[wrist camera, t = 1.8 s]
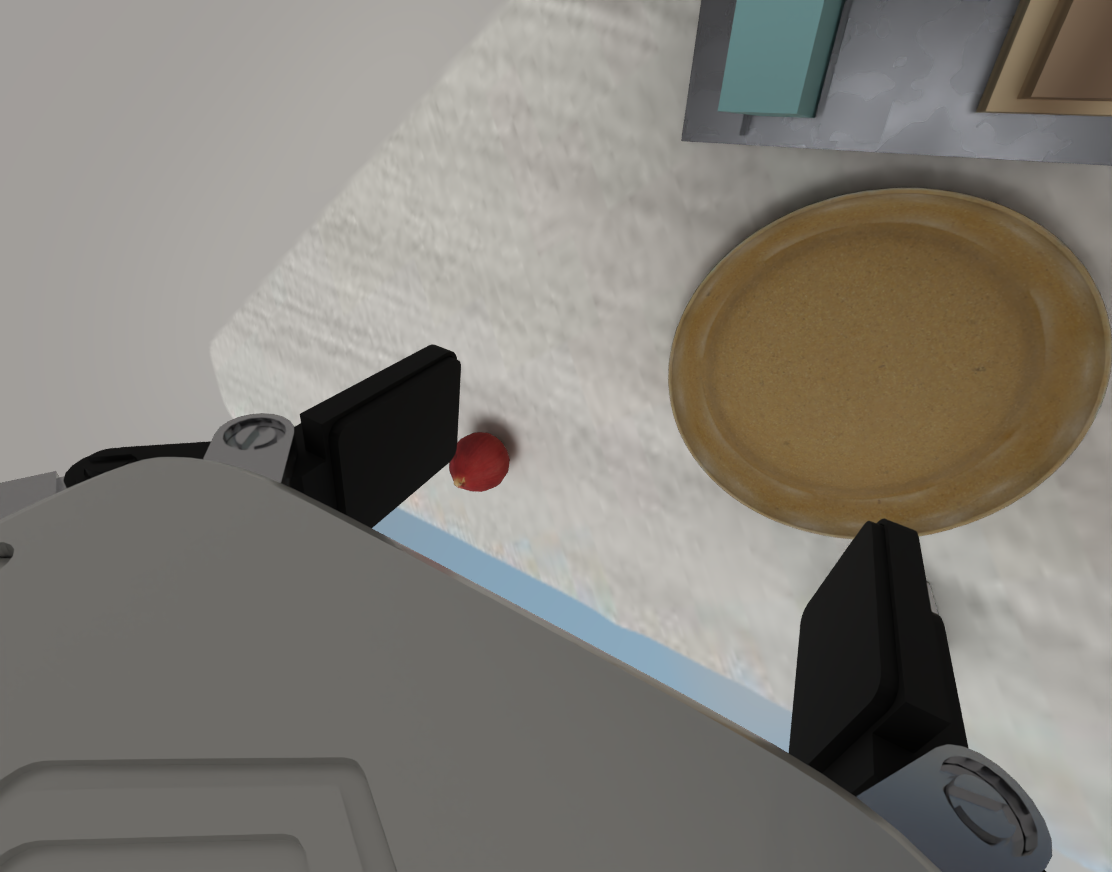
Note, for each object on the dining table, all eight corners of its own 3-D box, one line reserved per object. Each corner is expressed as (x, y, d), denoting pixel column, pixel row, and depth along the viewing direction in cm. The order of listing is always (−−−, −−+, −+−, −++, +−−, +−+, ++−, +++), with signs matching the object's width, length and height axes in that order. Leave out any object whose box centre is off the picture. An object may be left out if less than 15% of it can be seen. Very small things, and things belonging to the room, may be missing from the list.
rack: (1399, -207, 18) (1507, -273, 15) (1173, 168, 25) (1218, 174, 22) (723, -122, 27) (707, -153, 24) (685, 140, 33) (668, 142, 30)
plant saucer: (1209, 382, 28) (1244, 407, 25) (829, 561, 43) (828, 589, 41) (882, 84, 28) (885, 80, 26) (621, 368, 44) (607, 383, 41)
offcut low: (1257, -127, 20) (1301, -154, 18) (1127, 117, 24) (1151, 116, 22) (1063, -108, 22) (1084, -131, 20) (975, 112, 26) (985, 111, 24)
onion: (485, 466, 57) (440, 508, 50) (469, 419, 54) (420, 457, 48) (529, 468, 54) (487, 512, 48) (514, 419, 51) (469, 458, 45)
